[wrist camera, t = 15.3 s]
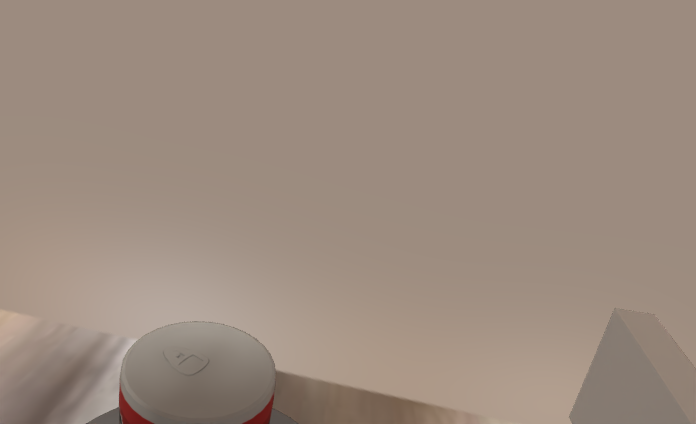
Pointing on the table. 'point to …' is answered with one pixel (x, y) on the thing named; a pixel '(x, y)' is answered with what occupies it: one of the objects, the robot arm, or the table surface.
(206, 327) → the canned food
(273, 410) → the turntable
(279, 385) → the table surface
